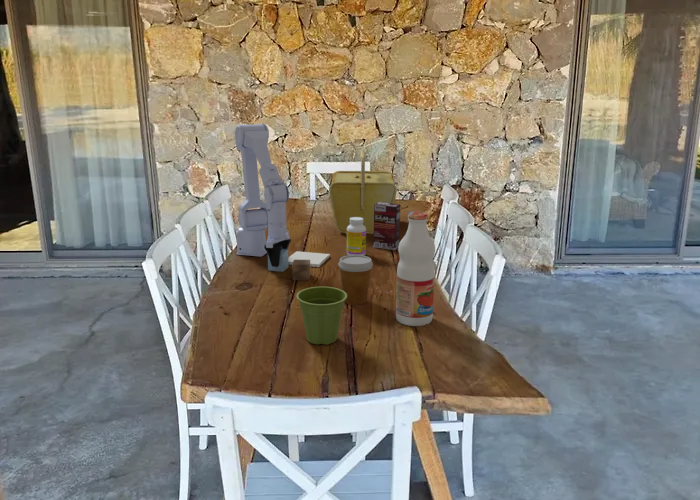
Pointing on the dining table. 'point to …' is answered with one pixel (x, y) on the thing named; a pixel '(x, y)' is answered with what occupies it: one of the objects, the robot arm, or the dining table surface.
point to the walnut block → (301, 269)
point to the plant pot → (321, 313)
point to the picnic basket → (359, 195)
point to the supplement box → (386, 225)
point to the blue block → (280, 262)
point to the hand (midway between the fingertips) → (278, 263)
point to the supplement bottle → (356, 237)
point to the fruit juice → (415, 273)
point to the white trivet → (309, 258)
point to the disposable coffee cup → (355, 277)
